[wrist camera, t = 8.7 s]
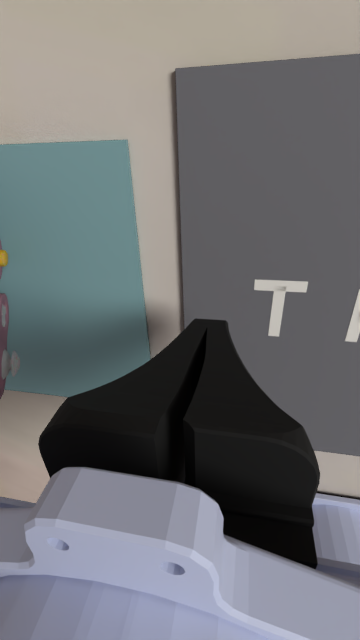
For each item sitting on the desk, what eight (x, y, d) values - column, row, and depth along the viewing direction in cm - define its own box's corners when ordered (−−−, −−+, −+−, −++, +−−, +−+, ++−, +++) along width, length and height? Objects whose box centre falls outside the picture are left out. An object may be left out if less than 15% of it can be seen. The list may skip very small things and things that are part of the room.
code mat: (419, 460, 18) (421, 464, 17) (188, 431, 20) (188, 434, 20) (658, 31, 8) (667, 29, 8) (176, 69, 11) (175, 68, 10)
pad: (155, 404, 19) (154, 407, 19) (-4, 386, 21) (-6, 388, 21) (127, 139, 12) (125, 140, 12) (-109, 149, 14) (-113, 149, 14)
